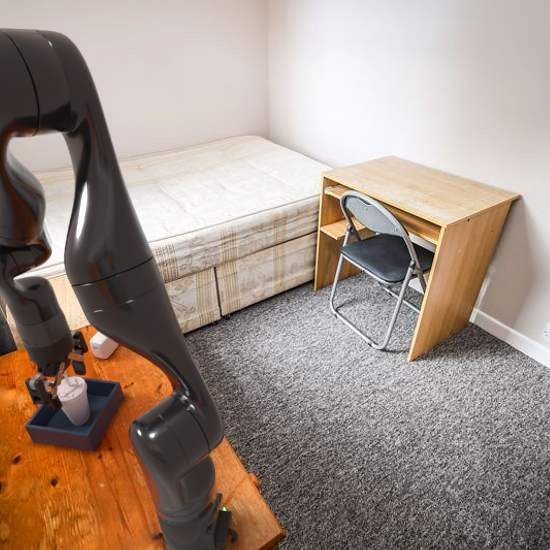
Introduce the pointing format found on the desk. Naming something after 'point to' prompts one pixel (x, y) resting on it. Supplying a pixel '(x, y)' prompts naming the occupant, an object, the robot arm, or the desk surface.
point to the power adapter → (102, 346)
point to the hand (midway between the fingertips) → (69, 390)
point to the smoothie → (74, 399)
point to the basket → (62, 432)
